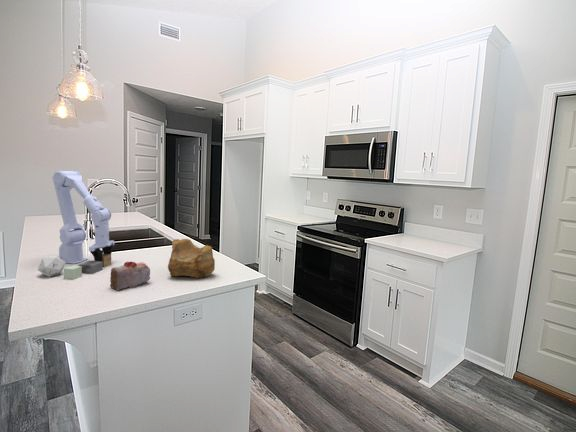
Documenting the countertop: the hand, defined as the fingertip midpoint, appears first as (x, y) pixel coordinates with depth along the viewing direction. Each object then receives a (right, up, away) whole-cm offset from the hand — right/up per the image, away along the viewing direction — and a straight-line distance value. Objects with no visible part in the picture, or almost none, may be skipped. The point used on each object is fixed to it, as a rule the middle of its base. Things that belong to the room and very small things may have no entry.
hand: (102, 262), depth 154 cm
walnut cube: (0, -1, 0) cm, 1 cm away
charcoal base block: (0, -3, -9) cm, 9 cm away
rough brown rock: (+42, -5, -8) cm, 43 cm away
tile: (-8, -2, -4) cm, 9 cm away
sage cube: (-3, -4, -17) cm, 18 cm away
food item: (+25, -6, -23) cm, 34 cm away
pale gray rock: (-13, -3, -16) cm, 20 cm away
